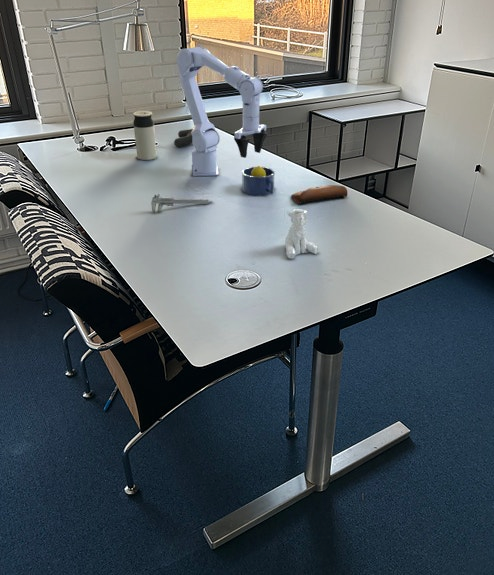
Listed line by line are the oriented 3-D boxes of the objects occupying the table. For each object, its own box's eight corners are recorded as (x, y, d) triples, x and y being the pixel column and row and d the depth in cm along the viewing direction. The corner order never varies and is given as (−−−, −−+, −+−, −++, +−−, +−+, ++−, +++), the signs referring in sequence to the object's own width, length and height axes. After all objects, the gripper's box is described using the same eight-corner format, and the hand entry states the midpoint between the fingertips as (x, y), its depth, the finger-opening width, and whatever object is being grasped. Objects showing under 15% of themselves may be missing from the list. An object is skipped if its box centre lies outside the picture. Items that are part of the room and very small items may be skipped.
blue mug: (236, 187, 188) (236, 170, 184) (262, 181, 193) (262, 164, 190) (259, 200, 178) (259, 182, 174) (285, 193, 183) (286, 176, 179)
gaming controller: (179, 153, 229) (198, 142, 226) (171, 142, 227) (190, 130, 224) (184, 142, 243) (202, 131, 241) (177, 132, 241) (195, 120, 238)
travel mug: (148, 161, 213) (143, 116, 203) (133, 158, 216) (128, 113, 207) (160, 156, 218) (156, 112, 209) (146, 153, 222) (141, 109, 212)
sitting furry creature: (288, 260, 142) (290, 219, 136) (274, 246, 149) (275, 207, 142) (319, 253, 145) (322, 213, 139) (304, 240, 152) (306, 202, 146)
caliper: (153, 214, 168) (151, 195, 165) (152, 212, 169) (150, 194, 166) (212, 203, 176) (211, 185, 172) (210, 202, 177) (210, 184, 173)
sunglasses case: (335, 188, 186) (341, 176, 180) (343, 204, 183) (349, 191, 177) (289, 195, 180) (294, 182, 175) (296, 211, 177) (301, 199, 172)
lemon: (268, 186, 187) (268, 164, 183) (262, 191, 183) (262, 169, 179) (254, 184, 189) (254, 162, 185) (247, 189, 185) (247, 167, 181)
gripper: (245, 121, 173) (245, 161, 180) (273, 113, 182) (272, 152, 190) (229, 118, 177) (230, 157, 184) (258, 110, 186) (257, 148, 194)
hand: (250, 154), depth 187 cm, fingers open, 7 cm apart
